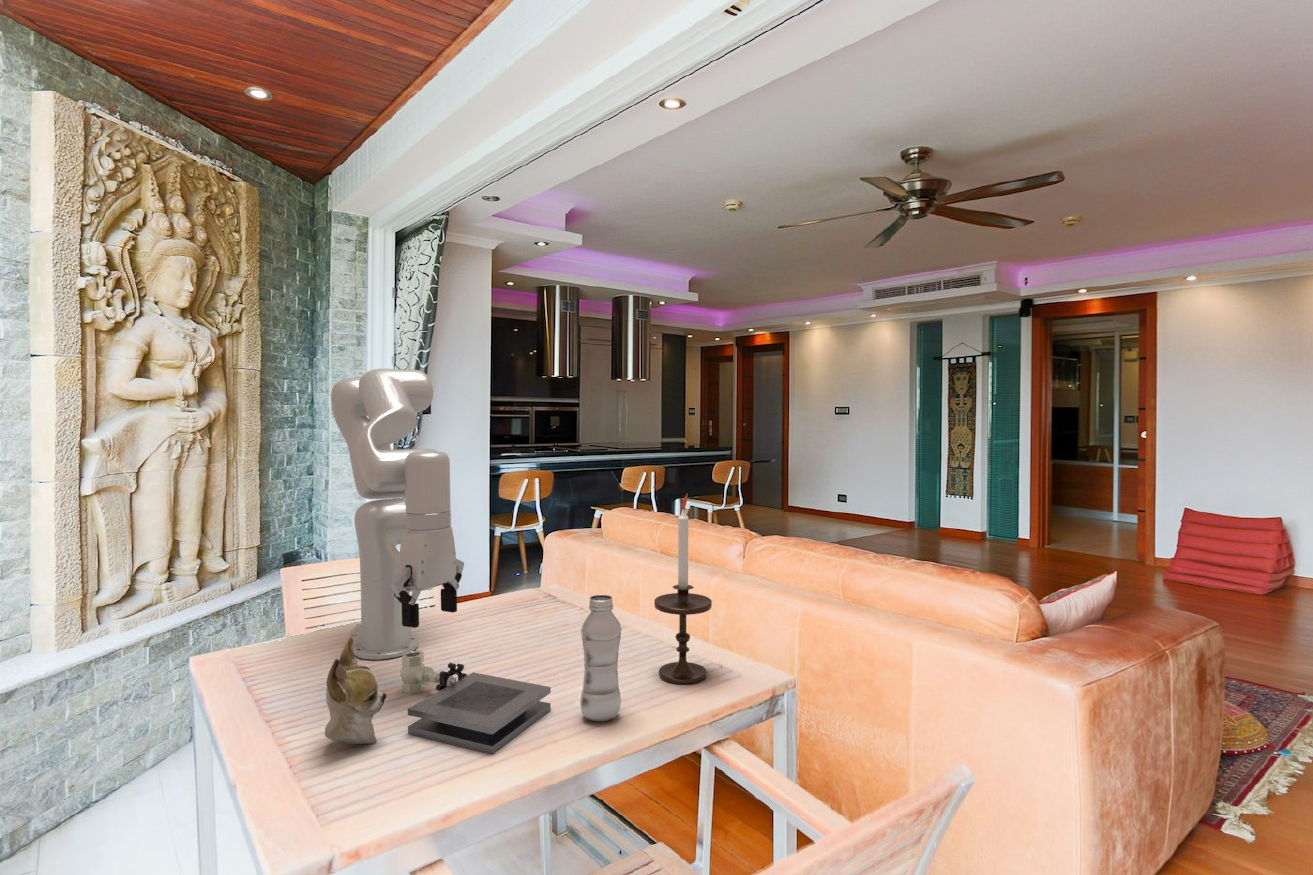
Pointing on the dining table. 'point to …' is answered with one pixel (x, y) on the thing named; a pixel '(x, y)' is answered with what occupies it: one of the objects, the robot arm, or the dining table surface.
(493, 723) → the stand
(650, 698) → the dining table surface
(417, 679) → the valve
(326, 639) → the dining table surface
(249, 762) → the dining table surface
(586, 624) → the plastic bottle
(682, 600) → the candlestick
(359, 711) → the ceramic sculpture
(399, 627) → the robot arm
